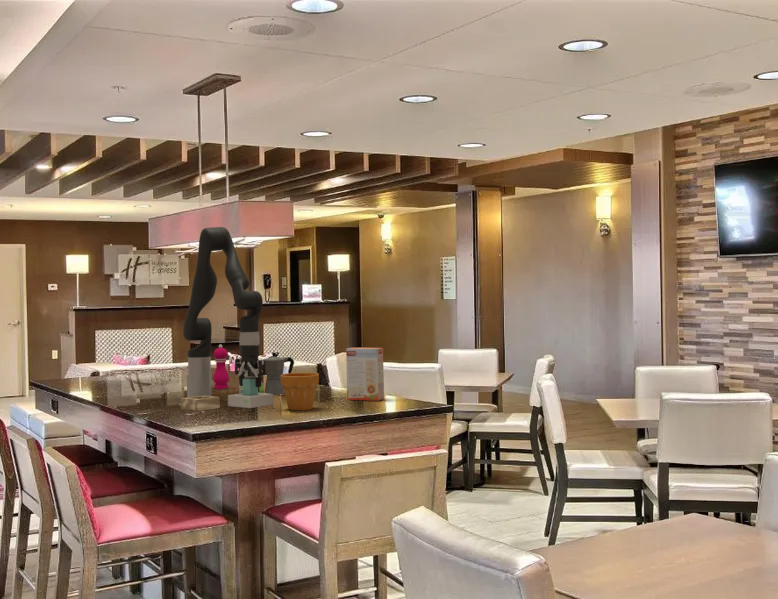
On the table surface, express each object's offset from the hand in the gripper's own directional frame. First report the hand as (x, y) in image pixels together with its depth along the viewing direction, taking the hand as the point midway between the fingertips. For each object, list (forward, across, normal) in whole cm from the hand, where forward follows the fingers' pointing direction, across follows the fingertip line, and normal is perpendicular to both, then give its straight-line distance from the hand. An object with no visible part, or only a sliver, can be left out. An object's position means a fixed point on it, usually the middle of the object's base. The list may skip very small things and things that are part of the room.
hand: (250, 386), depth 345 cm
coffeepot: (+8, -21, +36) cm, 42 cm away
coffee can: (+8, -18, +18) cm, 27 cm away
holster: (+8, -10, -16) cm, 21 cm away
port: (+8, 0, 0) cm, 8 cm away
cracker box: (+8, +23, +41) cm, 48 cm away
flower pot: (+8, +19, +7) cm, 22 cm away
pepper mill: (+8, -60, +40) cm, 73 cm away
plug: (+7, 0, 0) cm, 7 cm away
